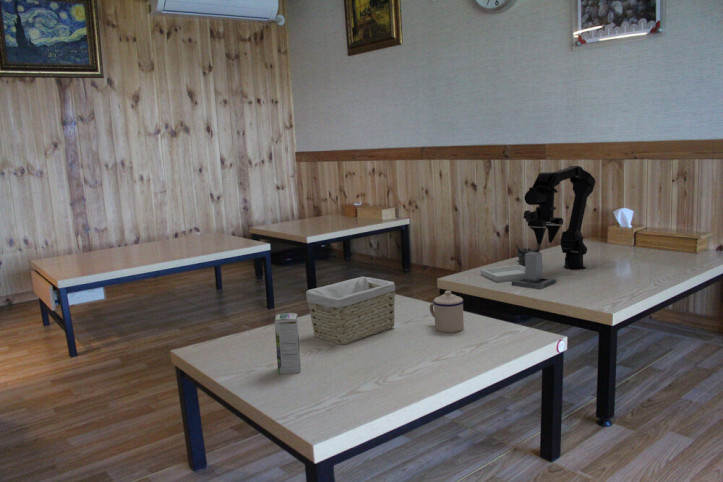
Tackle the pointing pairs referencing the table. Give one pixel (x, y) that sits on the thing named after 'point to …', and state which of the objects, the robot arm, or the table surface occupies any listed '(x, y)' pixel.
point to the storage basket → (351, 309)
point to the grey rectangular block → (533, 267)
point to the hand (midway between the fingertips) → (544, 243)
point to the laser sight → (523, 251)
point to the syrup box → (287, 343)
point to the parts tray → (504, 273)
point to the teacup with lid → (448, 313)
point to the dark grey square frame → (541, 285)
